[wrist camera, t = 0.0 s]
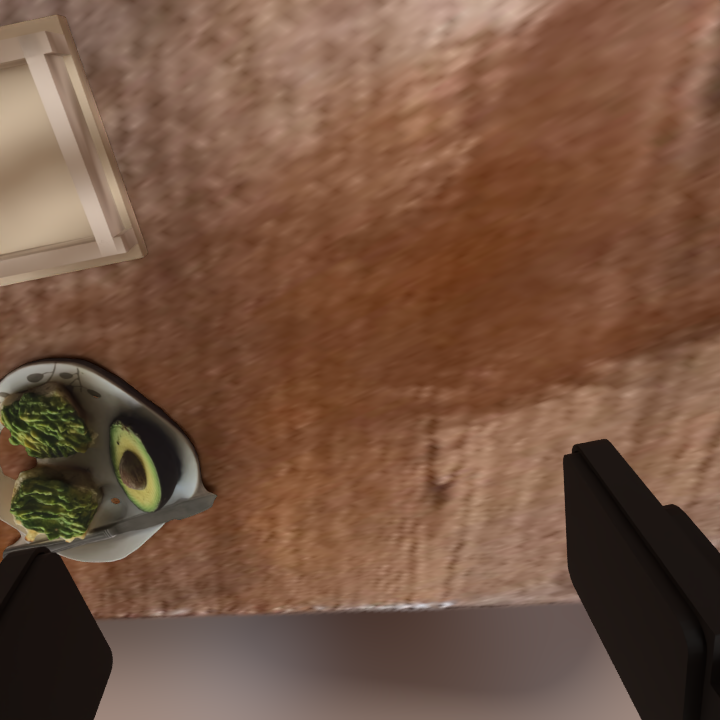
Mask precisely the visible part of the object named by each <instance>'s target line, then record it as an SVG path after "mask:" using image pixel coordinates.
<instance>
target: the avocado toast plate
mask: <svg viewBox="0 0 720 720" xmlns="http://www.w3.org/2000/svg"><path fill="white" fill-rule="evenodd" d="M93 396H96V397H98V398H95V397H93ZM4 426H5V427H7V429H9V430H10V432H11V435H12V436H11V437H10V438H9V441H10V443H11V444H12V445H19V444H21V445H23V446H25V447H26V452H27V453H28V455H29V456H32V457H35V458H36V459H37V465H36V467H34V468H32V469H29V470H27V471H23V472H21V473H20V474H19V477H18V479H17V480H14V479H12V478H10V477H7V476H5V475H4V474H3V471H2V469H1V466H0V519H1V520H2V521H4V522H6V523H7V524H9V525H11V526H12V527H14V528H16V529H17V530H18V531H19V532H20V534H21V538H20V539H19V540H18V541H17V542H16V543H15V544H13V545H11V546H8V547H7V548H6V549H5V550H4V552H3V559H4V558H5V556H6V555H7V554H9V553H11V552H13V551H19V550H24V549H29V548H34V547H40V546H44V547H47V548H48V549H49V550H50V551H51V552H56V553H57V554H59V555H62V556H64V557H67V558H70V559H74V560H77V561H83V562H111V561H116V560H119V559H122V558H124V557H126V556H127V555H129V554H130V553H132V552H133V551H135V550H136V549H138V548H139V547H140V546H141V545H143V543H144V542H145V541H147V540H148V539H149V538H150V537H151V536H152V535H153V534H154V533H155V532H157V531H158V530H159V529H160V528H161V527H162V526H163V525H164V524H165V522H168V521H170V520H173V519H177V520H181V519H184V518H187V517H190V516H193V515H195V514H198V513H200V512H202V511H205V510H207V509H208V508H210V507H212V504H213V502H214V500H215V498H216V497H217V495H215V494H213V493H210V492H208V491H207V490H206V489H205V488H204V485H203V483H202V480H201V471H200V464H199V460H198V455H197V453H196V451H195V449H194V446H193V445H192V444H191V442H190V440H189V439H188V437H187V436H186V435H185V433H184V432H183V431H182V429H181V428H180V427H179V426H178V425H177V424H176V423H175V422H174V421H173V420H172V419H170V418H169V417H168V416H167V415H166V414H165V413H164V412H163V411H162V410H161V409H160V408H159V407H157V406H156V405H155V404H153V403H152V402H151V401H149V400H148V399H147V398H145V397H144V396H143V395H142V394H140V393H139V392H138V391H137V390H135V389H134V388H133V387H131V386H130V385H129V384H127V383H126V382H125V381H123V380H122V379H120V378H119V377H117V376H115V375H113V374H111V373H110V372H108V371H106V370H104V369H102V368H100V367H98V366H96V365H94V364H92V363H90V362H88V361H85V360H80V359H68V358H53V359H42V360H38V361H33V362H29V363H27V364H24V365H22V366H20V367H18V368H17V369H15V370H13V371H11V372H10V373H8V374H7V375H6V376H5V377H4V378H3V379H1V380H0V433H1V430H2V429H3V427H4ZM112 498H118V499H119V500H120V503H119V504H114V503H112V502H111V499H112Z"/></svg>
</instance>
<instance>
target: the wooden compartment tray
mask: <svg viewBox="0 0 720 720" xmlns="http://www.w3.org/2000/svg"><path fill="white" fill-rule="evenodd" d="M146 254H148V251H147V248H146V245H145V242H144V239H143V237H142V234H141V231H140V228H139V225H138V222H137V220H136V217H135V214H134V211H133V208H132V205H131V202H130V200H129V197H128V194H127V191H126V188H125V185H124V183H123V180H122V177H121V174H120V171H119V168H118V165H117V163H116V160H115V157H114V154H113V151H112V148H111V146H110V143H109V140H108V137H107V134H106V131H105V128H104V126H103V123H102V120H101V117H100V114H99V111H98V109H97V106H96V103H95V100H94V97H93V94H92V91H91V89H90V86H89V83H88V80H87V77H86V74H85V72H84V69H83V66H82V63H81V60H80V57H79V54H78V52H77V49H76V46H75V43H74V40H73V37H72V35H71V32H70V29H69V26H68V23H67V20H66V17H63V16H60V15H52V16H48V17H43V18H38V19H34V20H29V21H24V22H20V23H15V24H10V25H6V26H1V27H0V286H5V285H10V284H15V283H20V282H25V281H30V280H35V279H39V278H44V277H49V276H54V275H59V274H64V273H69V272H74V271H79V270H84V269H89V268H94V267H99V266H104V265H109V264H114V263H119V262H124V261H129V260H133V259H138V258H143V257H144V256H145V255H146Z"/></svg>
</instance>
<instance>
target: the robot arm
mask: <svg viewBox="0 0 720 720" xmlns="http://www.w3.org/2000/svg"><path fill="white" fill-rule="evenodd" d="M563 470H564V492H565V515H566V538H567V560H568V570H569V574H570V577H571V580H572V583H573V585H574V587H575V589H576V591H577V593H578V595H579V597H580V599H581V601H582V603H583V605H584V607H585V609H586V611H587V613H588V615H589V617H590V619H591V621H592V623H593V625H594V627H595V629H596V631H597V633H598V634H599V637H600V639H601V641H602V643H603V645H604V647H605V648H606V650H607V652H608V654H609V656H610V658H611V660H612V662H613V664H614V666H615V668H616V670H617V672H618V674H619V676H620V678H621V680H622V682H623V684H624V686H625V688H626V690H627V692H628V694H629V695H630V698H631V700H632V702H633V704H634V706H635V707H636V709H637V711H638V713H639V715H640V717H641V719H642V720H720V553H719V552H718V550H717V549H716V548H715V547H714V546H713V545H712V543H711V542H710V541H709V540H708V539H707V538H706V536H705V535H704V534H703V533H702V532H701V531H700V529H699V528H698V527H697V526H696V525H695V524H694V523H693V521H692V520H691V519H690V518H689V517H688V516H687V514H686V513H685V512H684V511H683V510H682V509H680V508H679V507H678V506H676V505H673V504H670V505H665V506H662V505H661V503H660V502H659V501H658V500H657V499H656V497H655V496H654V495H653V494H652V492H651V491H650V490H649V489H648V488H647V486H646V485H645V484H644V483H643V482H642V480H641V479H640V478H639V477H638V475H637V474H636V473H635V472H634V471H633V469H632V468H631V467H630V466H629V464H628V463H627V462H626V461H625V460H624V458H623V457H622V456H621V455H620V453H619V452H618V451H617V450H616V449H615V447H614V446H613V445H612V444H611V443H610V442H609V441H608V440H607V439H602V440H596V441H591V442H586V443H581V444H575V445H574V446H573V448H572V454H567V455H564V458H563ZM112 663H113V657H112V652H111V649H110V647H109V645H108V643H107V642H106V640H105V638H104V636H103V634H102V632H101V630H100V629H99V627H98V625H97V623H96V621H95V619H94V618H93V616H92V614H91V612H90V610H89V608H88V606H87V605H86V603H85V601H84V599H83V597H82V595H81V594H80V592H79V590H78V588H77V586H76V584H75V583H74V581H73V579H72V577H71V575H70V573H69V571H68V570H67V568H66V566H65V564H64V562H63V560H62V559H61V557H60V556H59V554H57V553H56V552H51V551H50V550H49V549H48V548H47V547H44V546H40V547H34V548H29V549H24V550H19V551H13V552H11V553H9V554H7V555H6V556H5V558H4V559H3V560H2V562H1V563H0V720H94V717H95V715H96V712H97V709H98V706H99V704H100V701H101V698H102V695H103V693H104V690H105V687H106V684H107V681H108V679H109V676H110V673H111V670H112Z"/></svg>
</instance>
